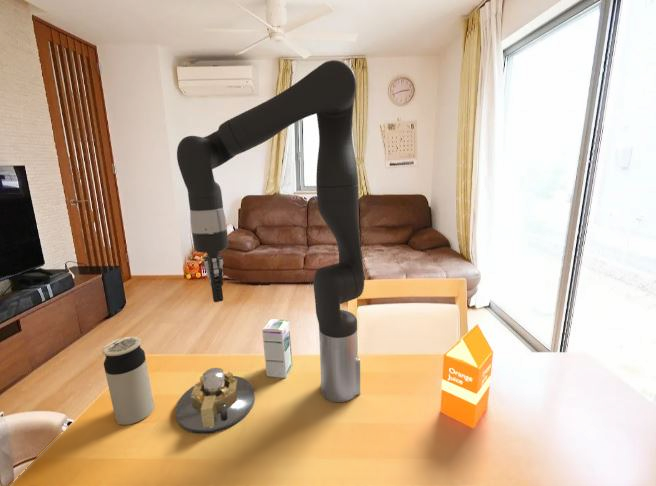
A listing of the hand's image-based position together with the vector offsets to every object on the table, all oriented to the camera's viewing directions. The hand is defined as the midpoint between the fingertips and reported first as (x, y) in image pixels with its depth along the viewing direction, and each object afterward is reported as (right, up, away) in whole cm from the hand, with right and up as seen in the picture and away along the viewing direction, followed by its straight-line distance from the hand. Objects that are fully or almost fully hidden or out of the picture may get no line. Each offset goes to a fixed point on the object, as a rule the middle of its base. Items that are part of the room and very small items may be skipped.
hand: (218, 300), depth 79 cm
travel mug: (-19, -27, 0) cm, 33 cm away
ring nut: (-1, -24, -1) cm, 24 cm away
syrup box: (+13, -22, +14) cm, 29 cm away
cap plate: (-1, -25, +2) cm, 25 cm away
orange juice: (+58, -25, -2) cm, 63 cm away
